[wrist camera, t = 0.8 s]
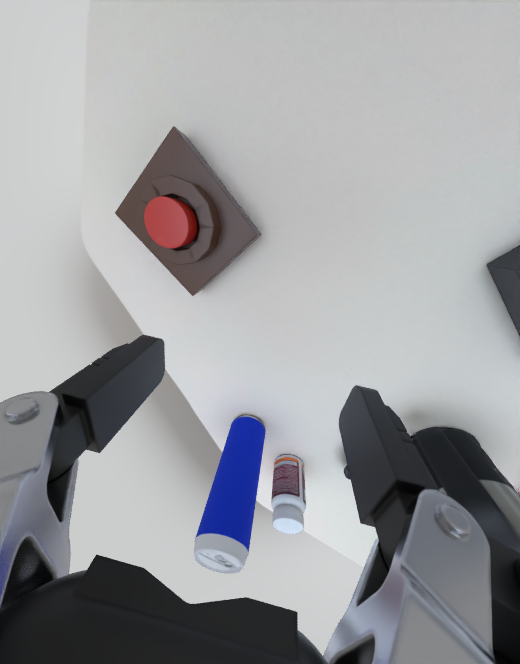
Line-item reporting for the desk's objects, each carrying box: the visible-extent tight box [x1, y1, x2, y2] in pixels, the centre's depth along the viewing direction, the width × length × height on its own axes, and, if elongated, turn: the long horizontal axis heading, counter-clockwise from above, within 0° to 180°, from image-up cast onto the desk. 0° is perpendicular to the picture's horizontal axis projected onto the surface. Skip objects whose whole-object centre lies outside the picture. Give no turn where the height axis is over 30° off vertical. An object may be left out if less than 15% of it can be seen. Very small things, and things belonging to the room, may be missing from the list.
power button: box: [144, 196, 197, 248], centre depth 18 cm, size 4×4×2 cm
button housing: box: [115, 127, 261, 296], centre depth 20 cm, size 10×9×4 cm
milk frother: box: [344, 427, 520, 553], centre depth 24 cm, size 14×16×15 cm
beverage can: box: [194, 415, 265, 573], centre depth 26 cm, size 5×5×15 cm
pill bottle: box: [271, 455, 306, 534], centre depth 32 cm, size 5×5×8 cm
